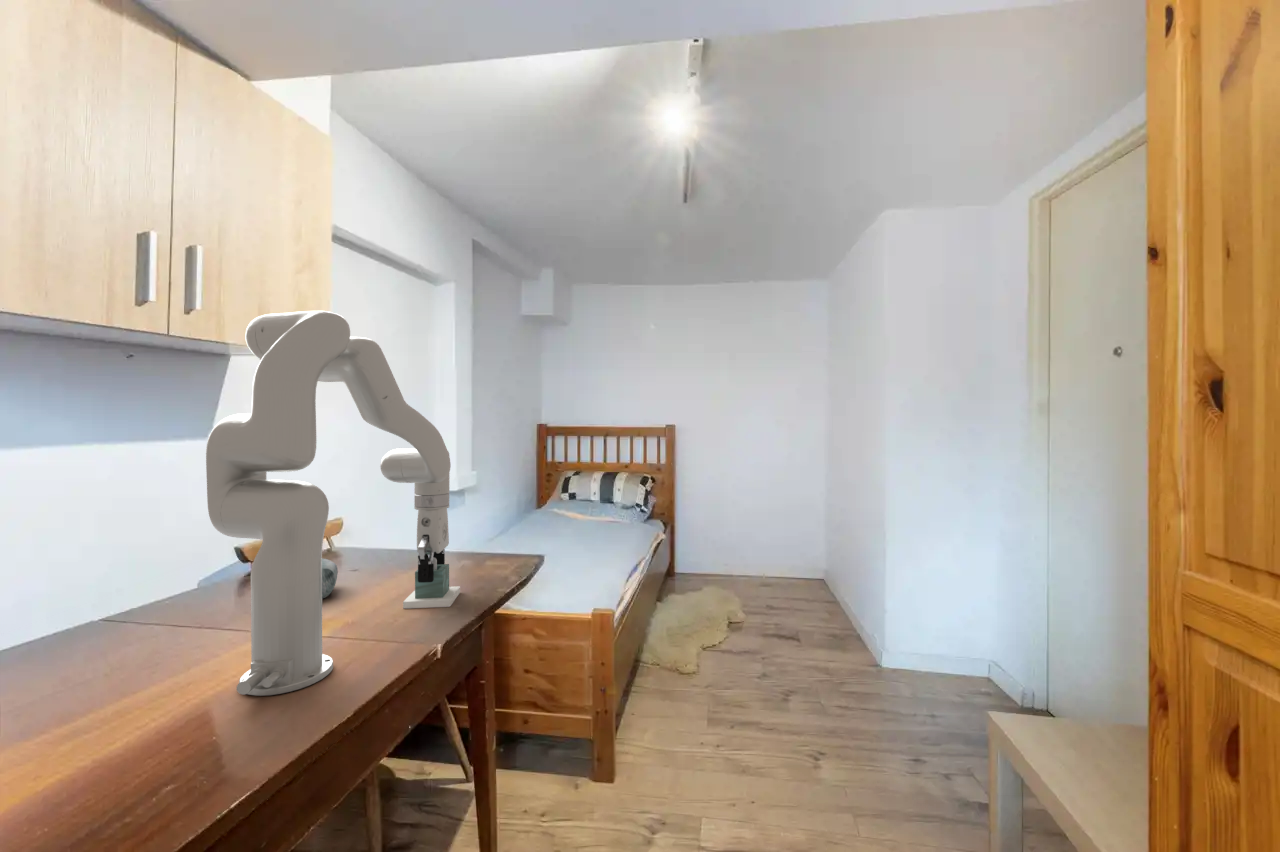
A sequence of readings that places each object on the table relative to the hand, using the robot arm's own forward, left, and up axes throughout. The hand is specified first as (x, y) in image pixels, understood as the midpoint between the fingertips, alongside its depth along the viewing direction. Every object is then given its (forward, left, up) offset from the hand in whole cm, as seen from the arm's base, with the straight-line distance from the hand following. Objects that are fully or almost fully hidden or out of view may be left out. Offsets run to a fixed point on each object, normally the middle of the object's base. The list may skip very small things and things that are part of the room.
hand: (431, 575), depth 122 cm
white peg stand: (0, 0, -6) cm, 6 cm away
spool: (+8, +29, -6) cm, 31 cm away
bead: (0, 0, -4) cm, 4 cm away
